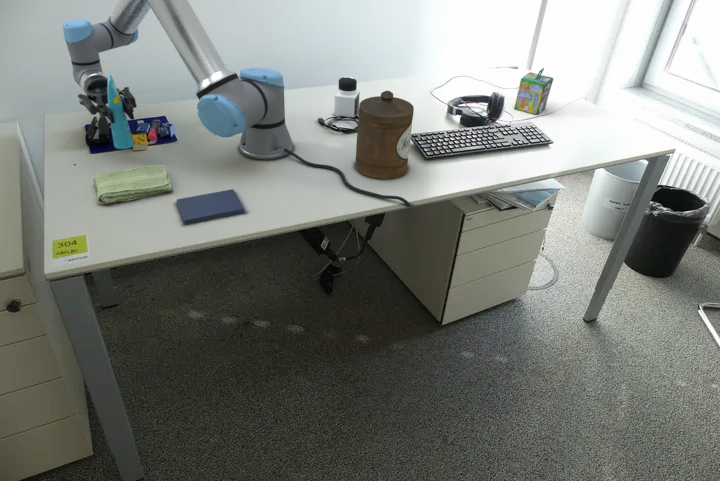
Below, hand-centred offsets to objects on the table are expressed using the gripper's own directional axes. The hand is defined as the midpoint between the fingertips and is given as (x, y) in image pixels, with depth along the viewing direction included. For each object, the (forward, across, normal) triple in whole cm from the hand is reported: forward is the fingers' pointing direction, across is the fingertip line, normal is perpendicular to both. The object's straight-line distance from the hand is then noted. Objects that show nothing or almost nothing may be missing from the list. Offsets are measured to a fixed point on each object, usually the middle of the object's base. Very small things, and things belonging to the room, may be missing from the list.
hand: (121, 116), depth 133 cm
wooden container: (+34, -59, -14) cm, 70 cm away
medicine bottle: (-3, -73, -15) cm, 74 cm away
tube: (-5, 0, -11) cm, 12 cm away
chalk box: (+26, -134, -14) cm, 137 cm away
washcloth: (+11, +3, -15) cm, 19 cm away
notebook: (+30, -9, -14) cm, 35 cm away
